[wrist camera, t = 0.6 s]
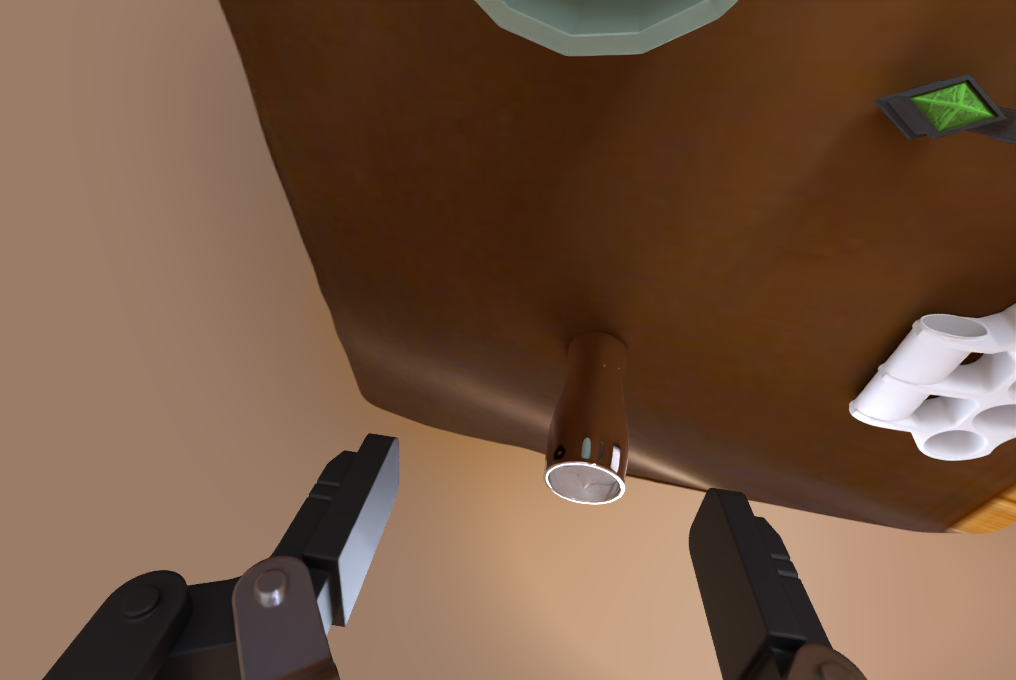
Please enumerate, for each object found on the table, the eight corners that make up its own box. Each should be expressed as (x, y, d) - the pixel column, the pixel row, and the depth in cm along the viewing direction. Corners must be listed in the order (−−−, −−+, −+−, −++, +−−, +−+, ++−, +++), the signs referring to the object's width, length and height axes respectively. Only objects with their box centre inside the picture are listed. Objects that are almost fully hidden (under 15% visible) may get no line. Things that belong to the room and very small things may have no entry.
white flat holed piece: (937, 276, 36) (1171, 298, 34) (829, 417, 49) (992, 440, 46) (957, 305, 34) (1210, 331, 31) (838, 445, 46) (1010, 470, 44)
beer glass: (620, 380, 51) (613, 512, 41) (557, 365, 52) (534, 492, 41) (641, 337, 46) (639, 474, 36) (571, 320, 47) (549, 452, 36)
